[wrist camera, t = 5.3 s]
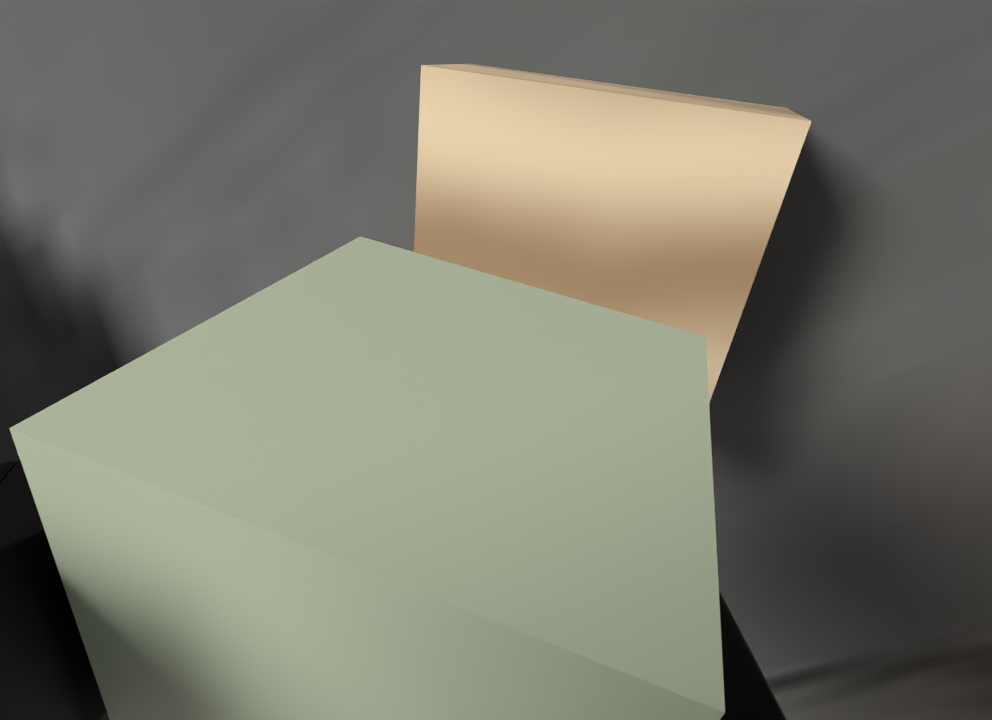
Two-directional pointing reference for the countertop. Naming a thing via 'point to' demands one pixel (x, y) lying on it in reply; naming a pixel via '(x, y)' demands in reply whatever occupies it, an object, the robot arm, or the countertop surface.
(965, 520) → the countertop surface
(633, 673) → the sage cube
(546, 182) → the maple block
